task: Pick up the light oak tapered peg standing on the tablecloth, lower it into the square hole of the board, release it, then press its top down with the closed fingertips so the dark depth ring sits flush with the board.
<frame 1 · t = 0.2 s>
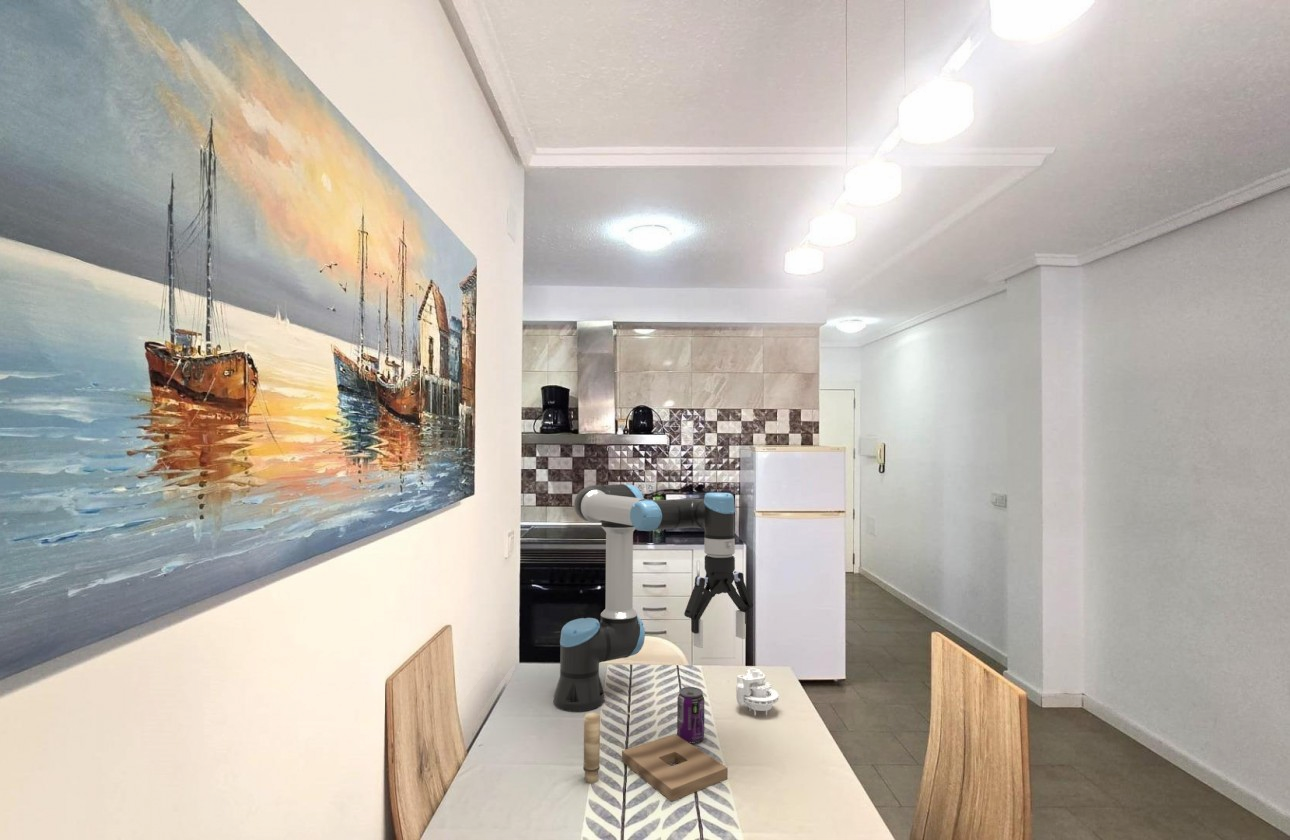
hand: (719, 642, 145), 28 cm above the table, fingers open, 13 cm apart
board: (673, 769, 138), on the table
beverage can: (690, 739, 154), on the table
peg: (591, 779, 134), on the table
mechanical part: (757, 712, 171), on the table
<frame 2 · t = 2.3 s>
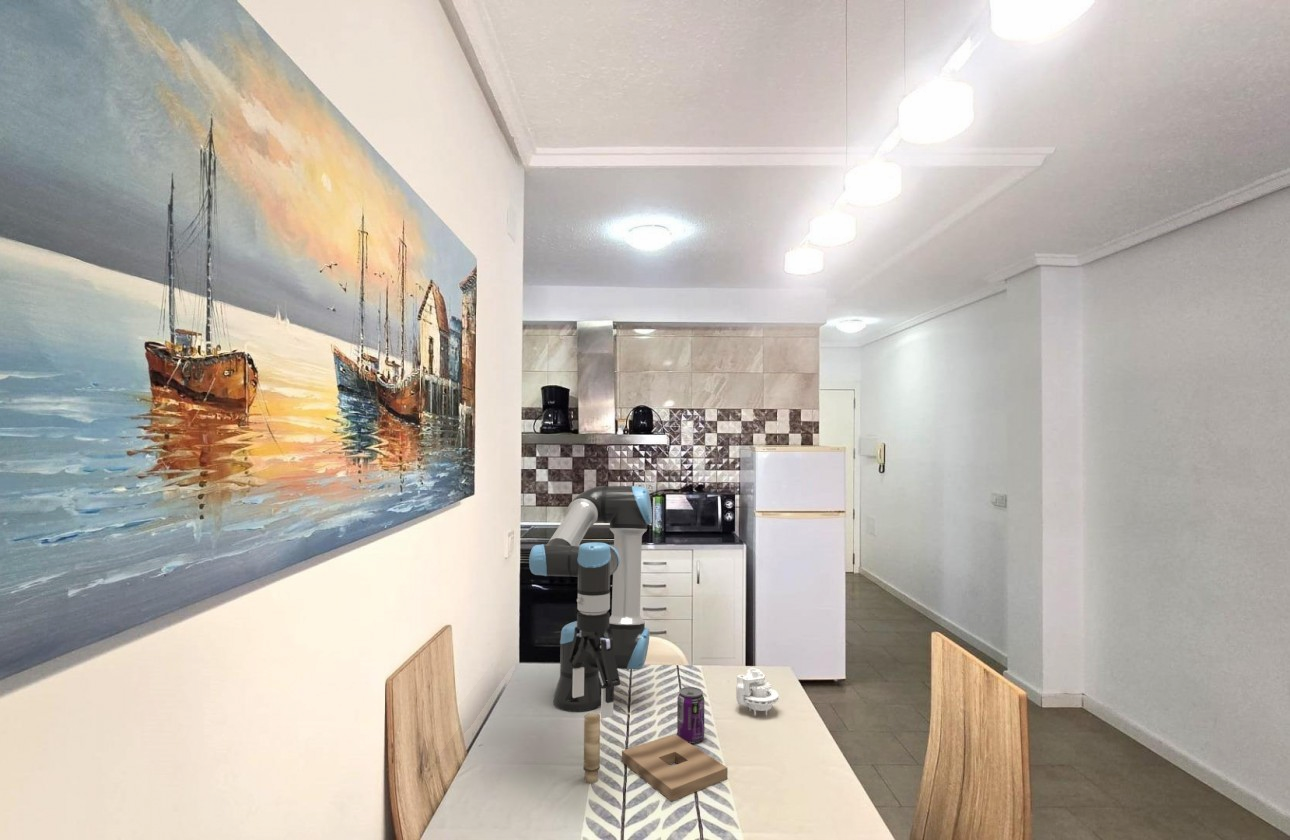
hand: (592, 706, 135), 16 cm above the table, fingers open, 13 cm apart
nothing on the table moved.
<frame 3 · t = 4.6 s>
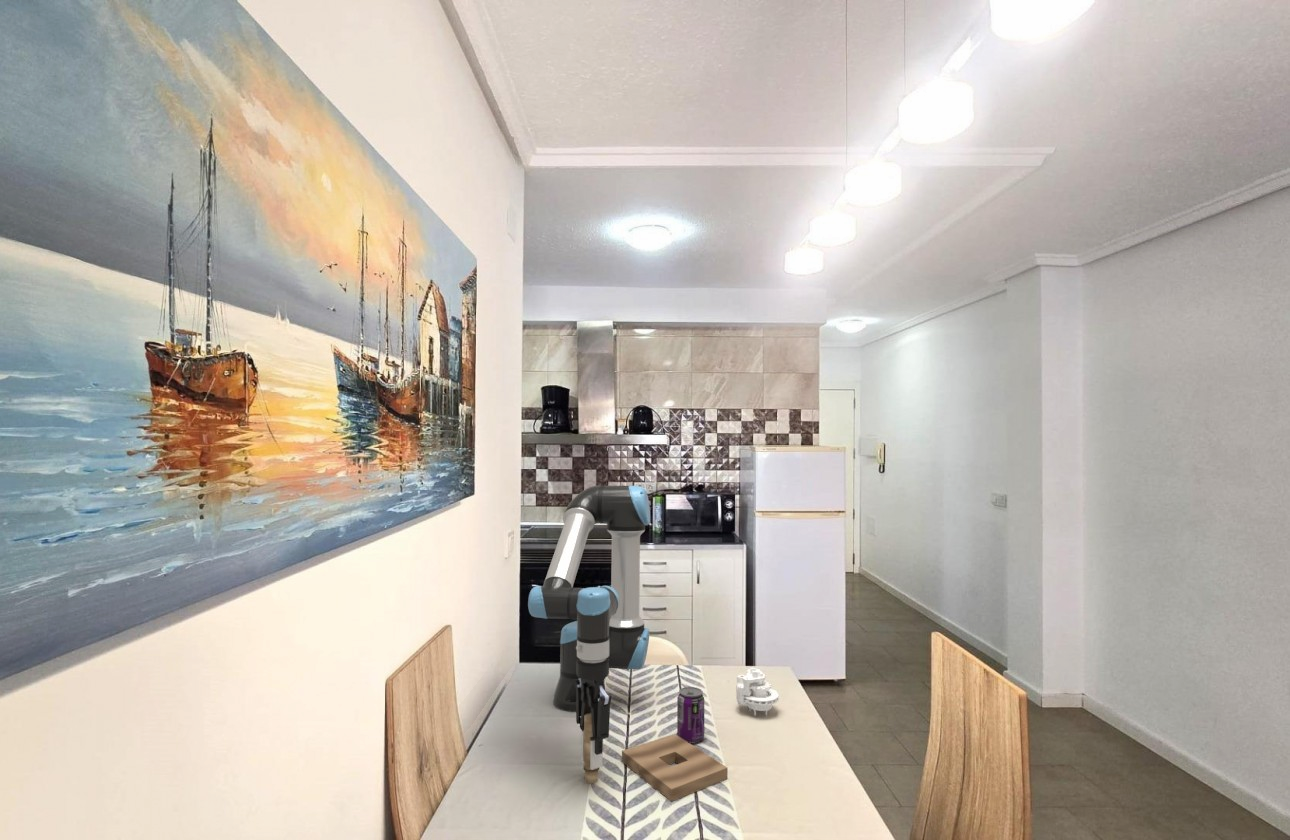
hand: (591, 763, 134), 4 cm above the table, fingers closed on peg, 3 cm apart
peg: (591, 779, 134), on the table, touching gripper
everything else where it was.
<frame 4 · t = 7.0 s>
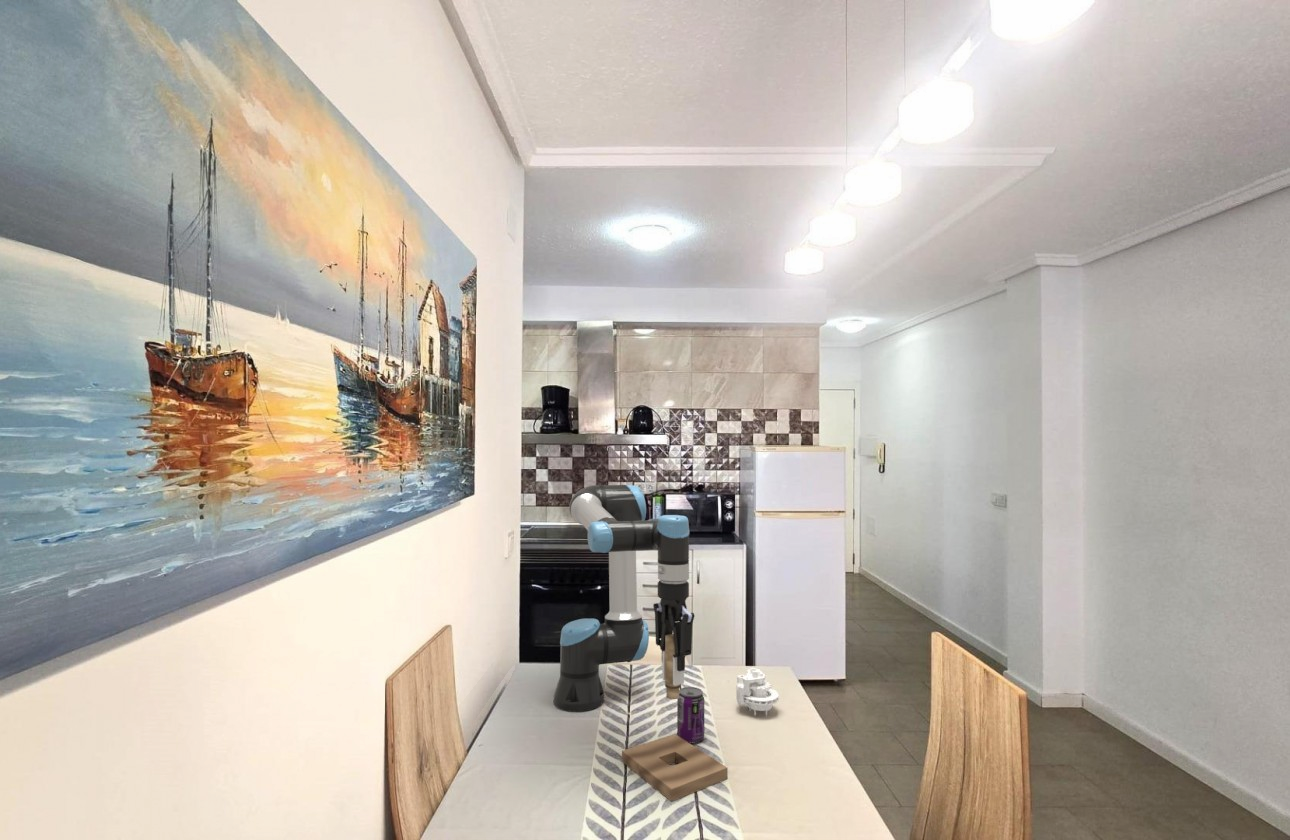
hand: (673, 680, 139), 20 cm above the table, fingers closed on peg, 3 cm apart
peg: (672, 696, 139), point 17 cm above the table, touching gripper
everything else where it was.
when the fingers open (5 cm above the table, at t = 9.6 s): peg stays where it is, resting in board.
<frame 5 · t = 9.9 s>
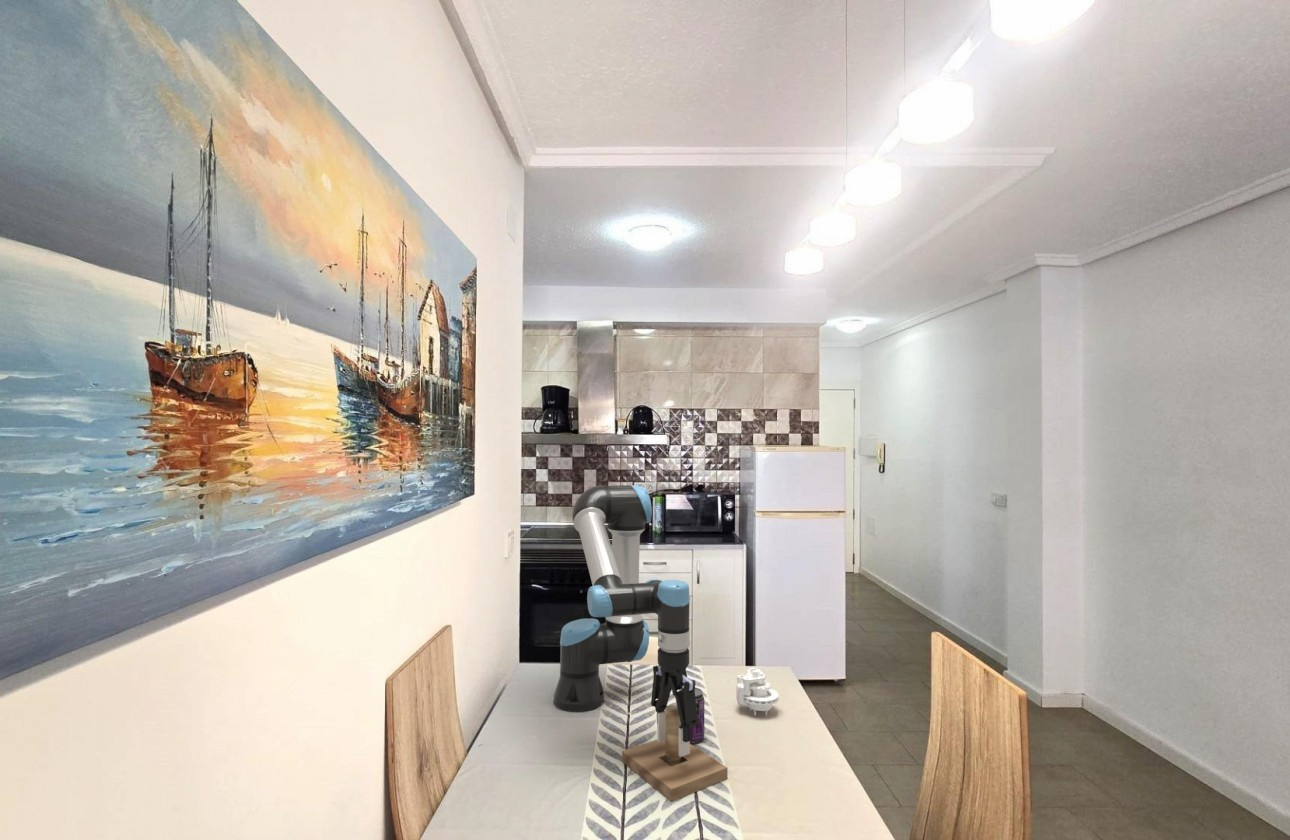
hand: (673, 747, 138), 5 cm above the table, fingers open, 8 cm apart
peg: (672, 770, 138), resting in board
everything else where it was.
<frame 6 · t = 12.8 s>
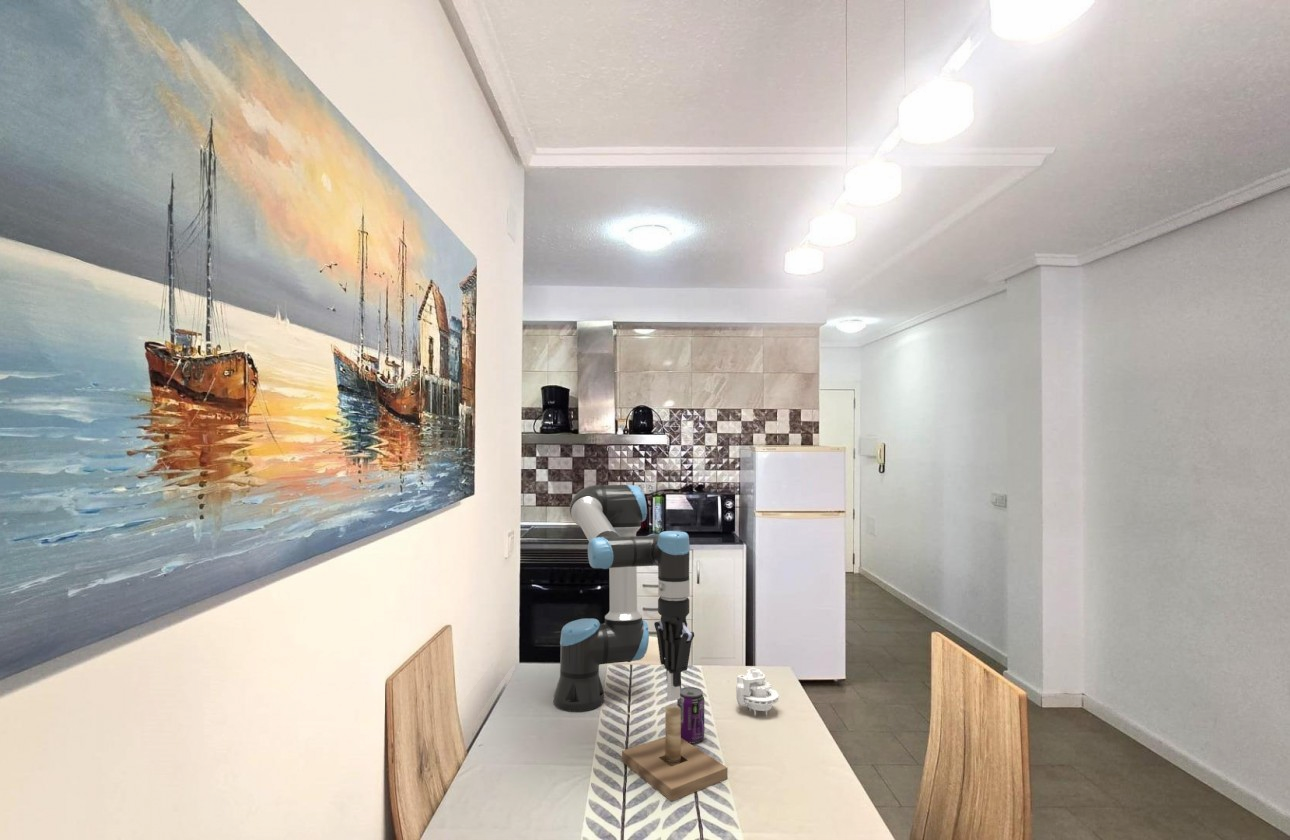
hand: (673, 698, 139), 16 cm above the table, fingers closed
nothing on the table moved.
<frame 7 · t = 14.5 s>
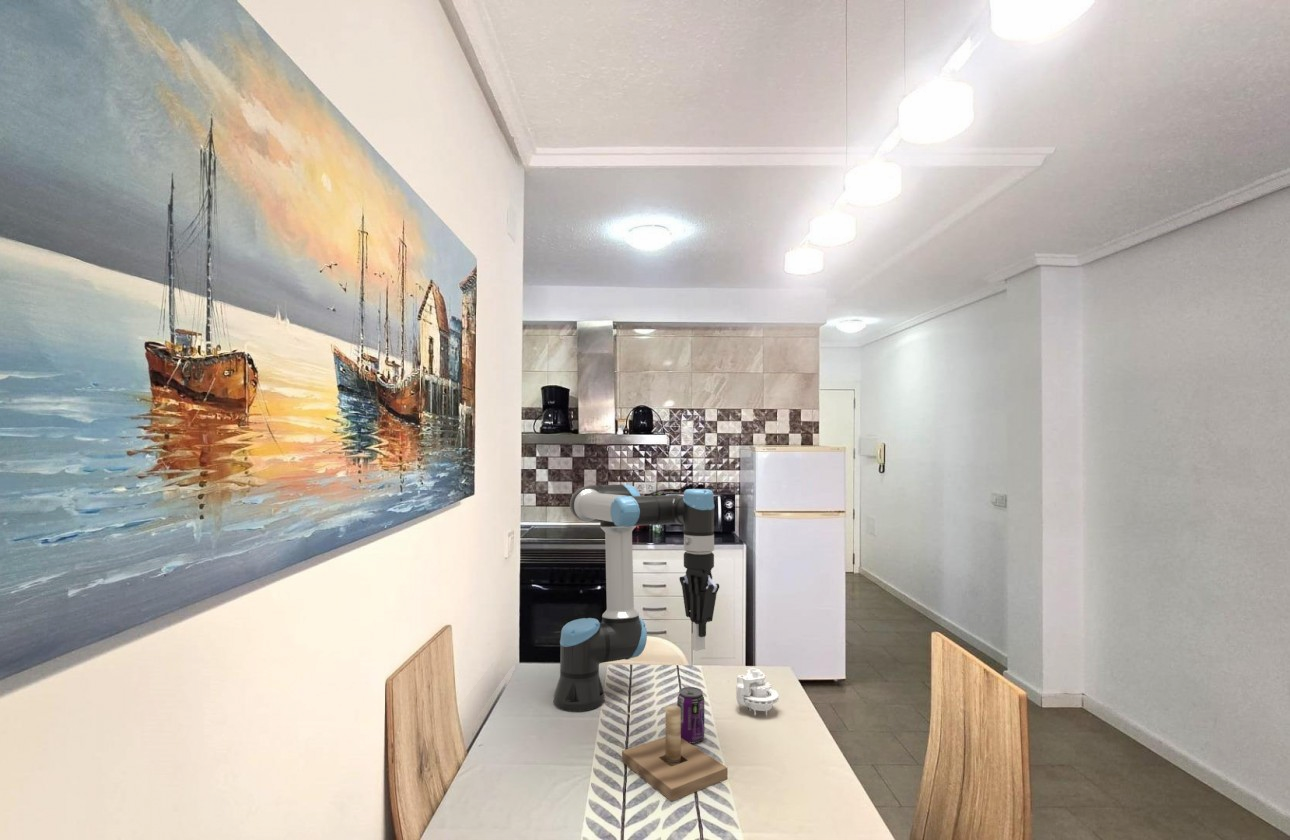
hand: (698, 649, 144), 26 cm above the table, fingers closed
nothing on the table moved.
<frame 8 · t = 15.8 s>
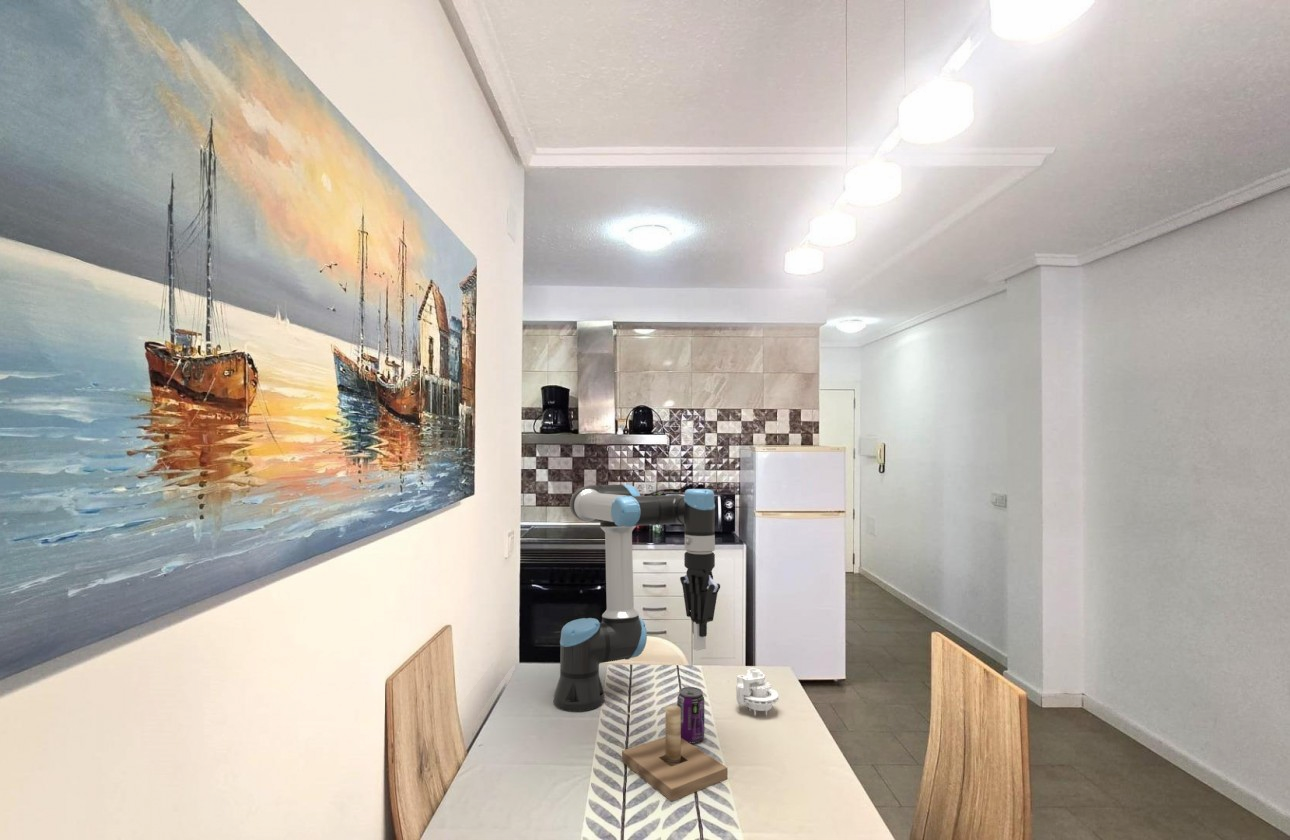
hand: (699, 648, 144), 26 cm above the table, fingers closed
nothing on the table moved.
at the end: peg 0.1 cm off-centre on the board, point 0.0 cm above the board's base; peg tilted 0°; the gripper is holding nothing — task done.
